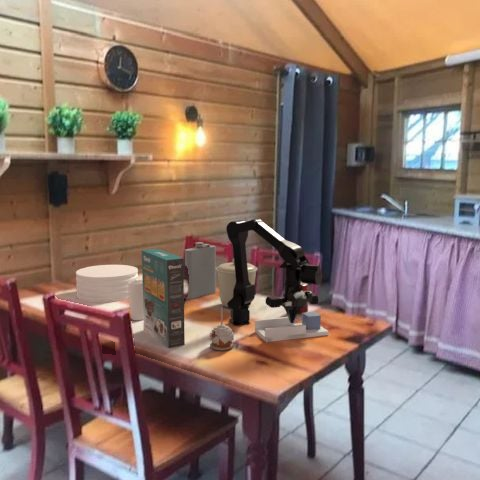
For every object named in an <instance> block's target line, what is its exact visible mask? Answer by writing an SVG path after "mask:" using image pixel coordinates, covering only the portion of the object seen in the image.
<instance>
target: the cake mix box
mask: <svg viewBox="0 0 480 480" xmlns="http://www.w3.org/2000/svg"><path fill="white" fill-rule="evenodd" d="M141 269H142V271H141V274H142V275H141V276H142V279H141V280H143V318H144V319H143V331H144V332H146V333H147V334H148V335H149V336H151V337H153V339H155V340H156V341H158V342H159V343H161V344H162V345H163V346H165V347H166V348H167V349H171V348H172V349H173V348H176V347H180V346H185V339H186V338H185V275H184V274H185V273H184V272H185V260H184V257H181V256H178V255H175V254H172V253H171V252H170V253H169V252H168V251H164V250H163V249H160V248H152V249H141Z"/></svg>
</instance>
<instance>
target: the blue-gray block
mask: <svg viewBox="0 0 480 480" xmlns="http://www.w3.org/2000/svg"><path fill="white" fill-rule="evenodd" d="M301 316H302V317H301V318H302V320H301V323H302V325H304V324H305V325H306V329H307V330H313V329H320V326H321V322H322V321H321V318H322V317H321V316H322V315H320V313H318V312H316V311H308V312H306V313H302V314H301Z"/></svg>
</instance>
